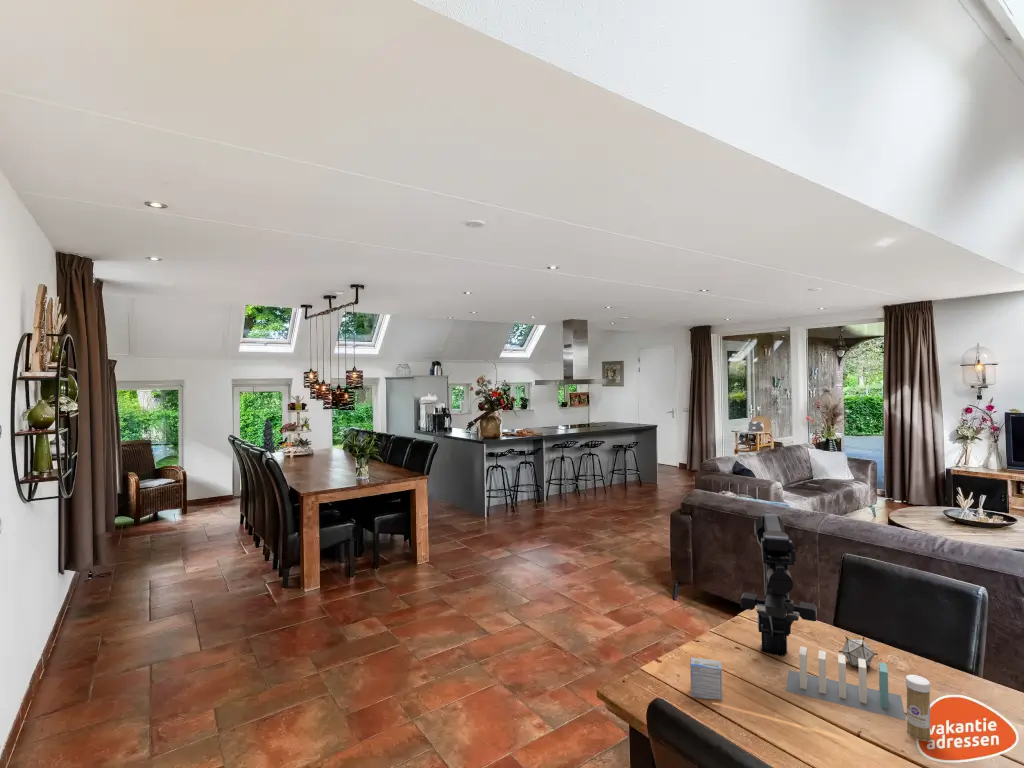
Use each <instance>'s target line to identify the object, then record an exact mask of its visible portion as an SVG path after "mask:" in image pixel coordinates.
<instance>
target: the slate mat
mask: <svg viewBox="0 0 1024 768" xmlns="http://www.w3.org/2000/svg"><path fill="white" fill-rule="evenodd" d="M807 677H808V681H807V689H803V688H800V671H794V670H790V669H789V670H788V673H787V681H786V684H785V685H786V686H785V692H788V693H792V694H796V695H799V696H804V697H808V698H813V699H815V700H821V701H826V702H830V703H834V704H837V705H841V706H845V707H849V708H854V709H856V710H857V709H858V710H861V711H865V712H870V713H873V714H877V715H882V716H886V717H891V718H894V719H899V720H902V721H907V717H906V714H905V709H904V705H903V699H902V695H900V694H896V693H892V692H888V702H889V709H887V708H883V707H881V704H880V695H879V689H874V688H871V687H867V704H866V703H862V702H860V700H859V685H856V684H851V683H848V682H846V699H845V698H841V697H839V680H834V679H831V678H830V679H829V678H826V694H824V693H820V692H819V676H816V675H811V674H808V673H807Z"/></svg>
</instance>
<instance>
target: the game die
mask: <svg viewBox="0 0 1024 768" xmlns="http://www.w3.org/2000/svg"><path fill="white" fill-rule="evenodd" d="M845 639H846V641H845V643H844V645H843V647H842V650H838V652H839V653H842V655H845V659H846V660H847V661H848V662H849V663H850V665H851V666H850V667H852V668H853V667H858V658H860V659H865V660H866V668H871V666H870V665H871V663H872V661H873V659H874V657H875V656H878V655H879V653H877V652H874V651H873V649H872V648H871V647H870V646H869V645H868V644H867V642H866V641H865V639H866V638H865V636H863V637H862V638H861V639H859V638H849V637H847V636H846V635H845Z"/></svg>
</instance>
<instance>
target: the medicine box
mask: <svg viewBox="0 0 1024 768" xmlns="http://www.w3.org/2000/svg"><path fill="white" fill-rule="evenodd" d="M689 670H690V671H689V672H690V697H692V698H697V699H706V700H711V701H712V700H713V699H716V700H719V701H720V700H722V701H723V698H724V697H723V667H722V661H720V660H715V659H708V658H707V659H706V658H699V657H690V663H689Z"/></svg>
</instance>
